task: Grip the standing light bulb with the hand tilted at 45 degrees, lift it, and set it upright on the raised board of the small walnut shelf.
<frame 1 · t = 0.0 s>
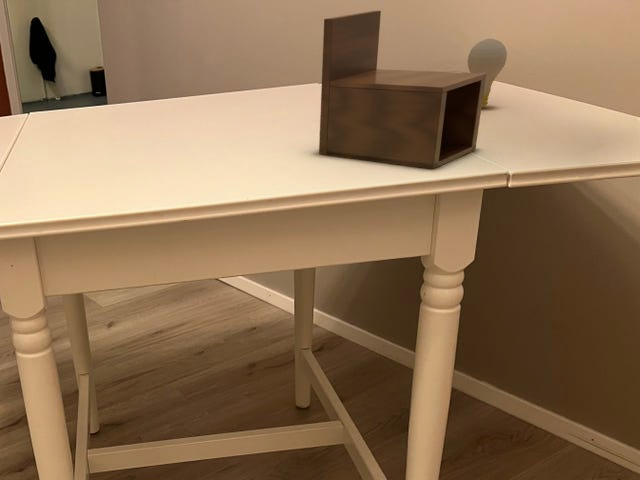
light bulb: (479, 109, 112), on the table
shelf: (399, 152, 90), on the table
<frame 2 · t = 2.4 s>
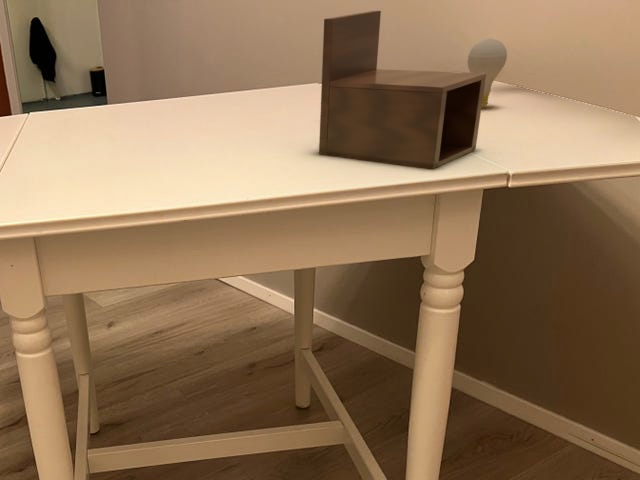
nothing on the table moved.
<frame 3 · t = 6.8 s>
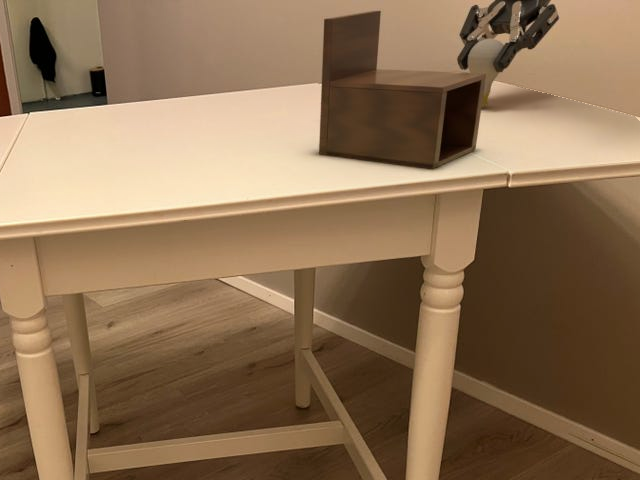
hand: (479, 67, 108), 6 cm above the table, tool tilted 45°, fingers closed on light bulb, 5 cm apart
light bulb: (479, 109, 112), on the table, touching gripper
everything else where it was.
when the fingers open (15 cm above the table, at t = 15.6 s): light bulb stays where it is, resting on shelf.
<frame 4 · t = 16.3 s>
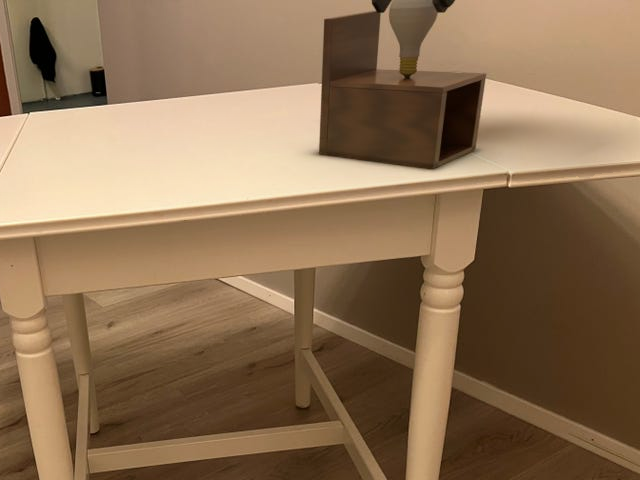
hand: (406, 7, 81), 17 cm above the table, tool tilted 45°, fingers open, 8 cm apart
light bulb: (407, 78, 86), point 9 cm above the table, touching shelf
everything else where it was.
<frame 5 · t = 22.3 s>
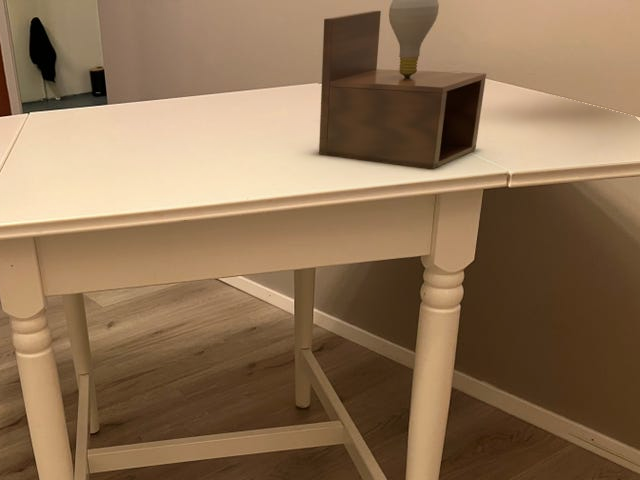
nothing on the table moved.
at the end: light bulb inside the target area on the shelf (0.1 cm from its centre), point 8.8 cm above the shelf's base; light bulb tilted 0°; the gripper is holding nothing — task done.
